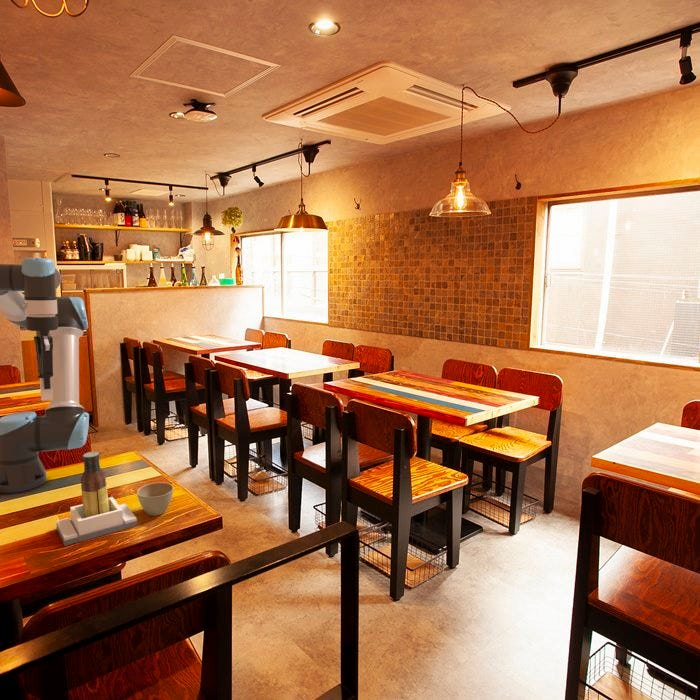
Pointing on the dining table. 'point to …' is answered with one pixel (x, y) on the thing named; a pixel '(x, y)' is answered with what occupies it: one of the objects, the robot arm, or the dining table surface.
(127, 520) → the caddy
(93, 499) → the sauce bottle
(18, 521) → the dining table surface
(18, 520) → the dining table surface
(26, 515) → the dining table surface
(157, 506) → the flower pot
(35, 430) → the robot arm
